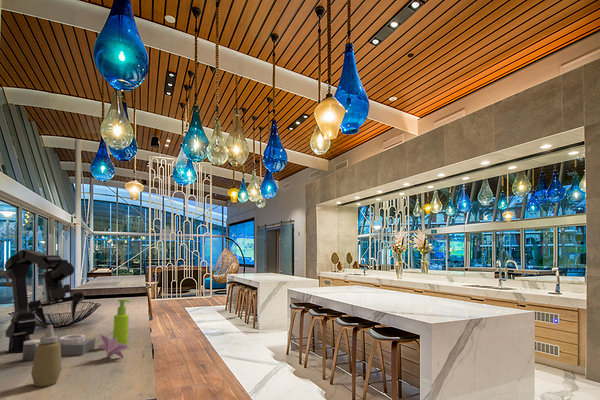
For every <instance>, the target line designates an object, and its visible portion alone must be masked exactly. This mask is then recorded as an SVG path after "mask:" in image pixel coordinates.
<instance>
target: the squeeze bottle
mask: <svg viewBox="0 0 600 400" xmlns="http://www.w3.org/2000/svg"><path fill="white" fill-rule="evenodd" d="M54 331H55V330H54V326H53V324H48V325H47V326H46V330H45V334H44V336H41V337H40V339H39V340H40V344H39V345H38V346H37V347H36V352H35V357H34V361H32V369H31V374H30V375H31V378H32V381H33V384H34V386H35V387H48V386H52V385H54V384H56V383H57V382H58V380H59V378H60V376H61V373H62V356H61V344H60V343H58V342H57V341H58V339H59V338H58V337H59V336H58V335H55V332H54Z"/></svg>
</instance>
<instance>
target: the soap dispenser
mask: <svg viewBox="0 0 600 400" xmlns="http://www.w3.org/2000/svg"><path fill="white" fill-rule="evenodd" d="M117 302H119V306H118V307H117V312H116V313H117V314H115V315H114V316H113V334H112V339H113V338H115V337H116V338H117V341H118V343H122V344H125V345H128V338H129V337H128V335H129V318H130V317H129V314H127V307H126V306H125V302H127V303H131V302H132V300H131V299H118V301H117Z"/></svg>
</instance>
